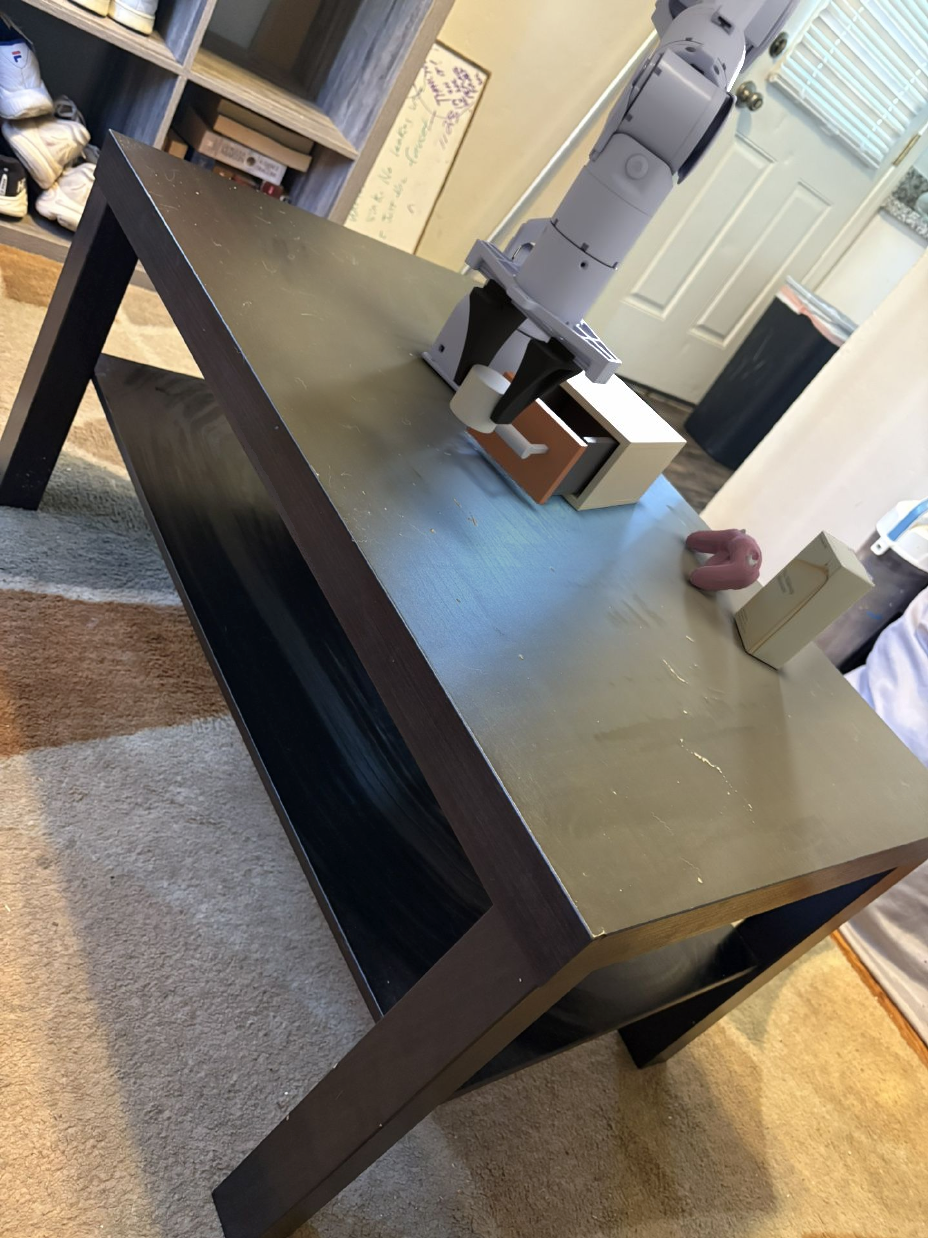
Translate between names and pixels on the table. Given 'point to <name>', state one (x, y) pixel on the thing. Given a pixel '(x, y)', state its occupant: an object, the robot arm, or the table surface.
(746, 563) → the pink curved piece
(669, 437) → the mini drawer cabinet
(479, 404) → the cylinder
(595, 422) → the pod drawer
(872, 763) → the table surface
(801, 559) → the cosmetic box
